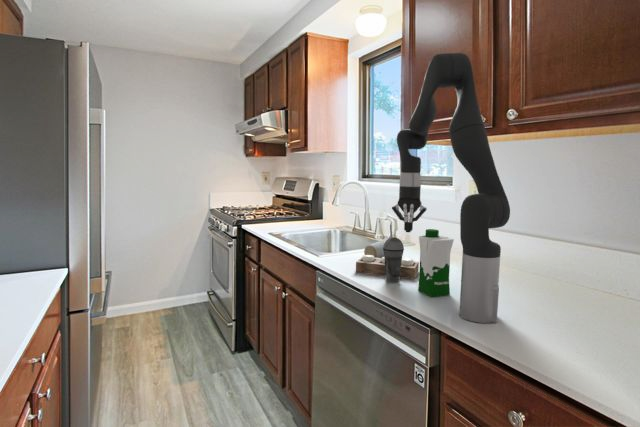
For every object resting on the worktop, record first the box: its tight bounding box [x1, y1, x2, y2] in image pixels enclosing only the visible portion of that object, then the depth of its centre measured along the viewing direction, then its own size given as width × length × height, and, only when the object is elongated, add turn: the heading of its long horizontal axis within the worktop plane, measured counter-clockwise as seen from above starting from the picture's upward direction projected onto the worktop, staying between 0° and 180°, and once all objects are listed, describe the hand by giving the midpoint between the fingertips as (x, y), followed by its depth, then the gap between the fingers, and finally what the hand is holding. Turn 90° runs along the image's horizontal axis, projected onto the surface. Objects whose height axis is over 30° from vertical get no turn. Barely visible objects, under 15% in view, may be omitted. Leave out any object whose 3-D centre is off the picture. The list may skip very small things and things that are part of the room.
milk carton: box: [417, 228, 454, 298], centre depth 122 cm, size 9×9×20 cm
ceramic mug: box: [363, 241, 385, 258], centre depth 164 cm, size 11×8×8 cm
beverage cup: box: [383, 224, 405, 284], centre depth 134 cm, size 7×7×20 cm
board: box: [355, 256, 420, 280], centre depth 147 cm, size 22×10×4 cm, turn 68°
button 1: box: [362, 254, 374, 262], centre depth 149 cm, size 4×4×3 cm
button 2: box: [401, 258, 414, 266], centre depth 144 cm, size 4×4×3 cm
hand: (408, 231), depth 142 cm, fingers closed
